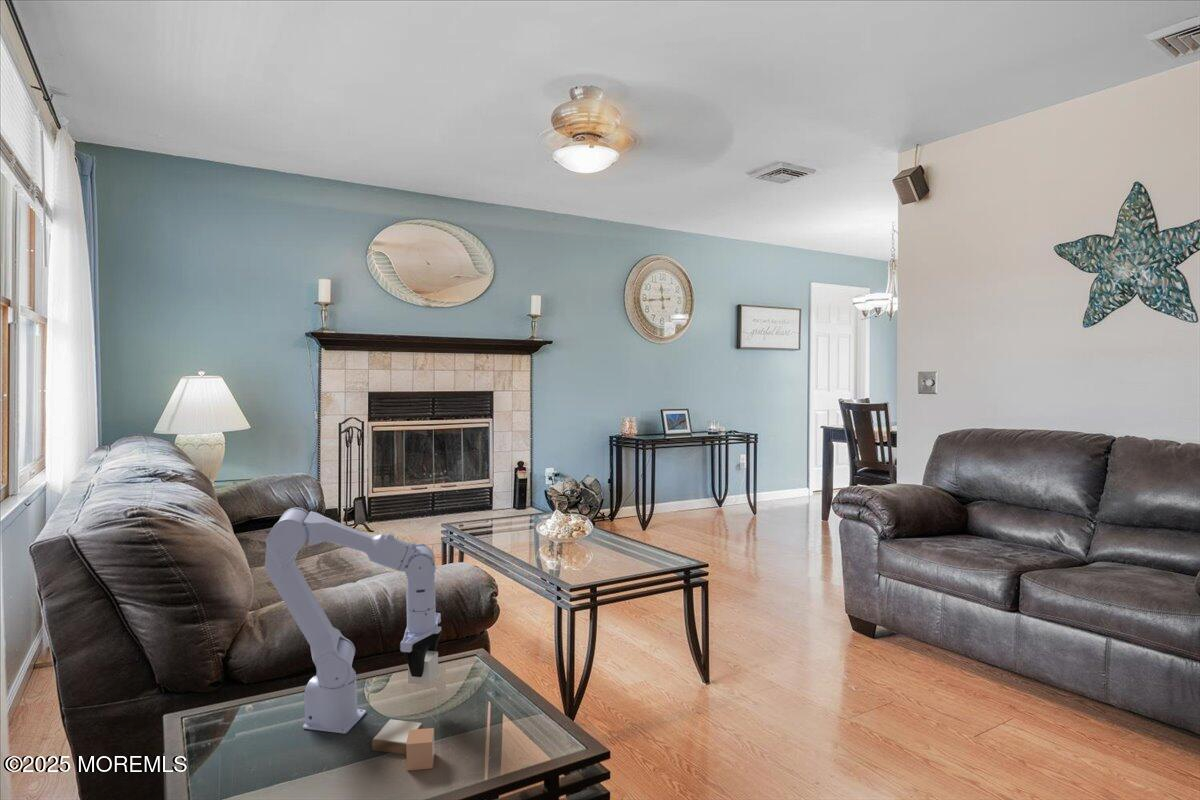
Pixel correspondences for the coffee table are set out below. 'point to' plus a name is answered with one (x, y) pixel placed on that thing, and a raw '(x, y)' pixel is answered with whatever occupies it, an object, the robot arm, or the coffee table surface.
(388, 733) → the plinth
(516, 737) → the coffee table surface
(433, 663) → the stone block
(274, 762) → the coffee table surface
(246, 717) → the coffee table surface
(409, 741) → the terracotta block
